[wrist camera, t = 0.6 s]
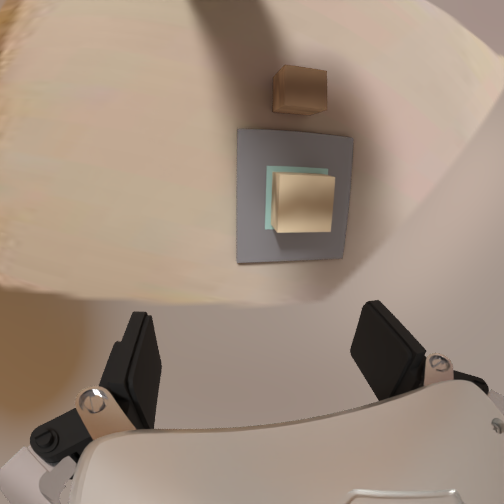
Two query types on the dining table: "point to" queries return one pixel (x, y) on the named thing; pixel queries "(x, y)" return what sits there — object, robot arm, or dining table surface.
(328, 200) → the maple block
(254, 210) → the build mat
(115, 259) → the dining table surface
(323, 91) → the walnut block
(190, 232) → the dining table surface
